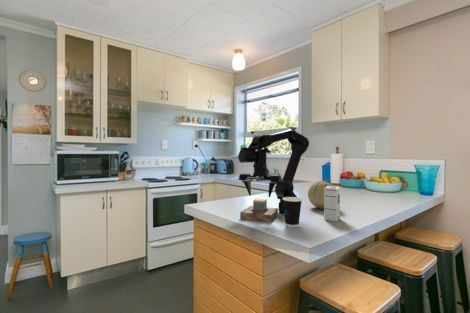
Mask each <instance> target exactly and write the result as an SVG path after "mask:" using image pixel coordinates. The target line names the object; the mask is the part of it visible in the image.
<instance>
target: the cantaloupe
mask: <svg viewBox="0 0 470 313" xmlns="http://www.w3.org/2000/svg"><path fill="white" fill-rule="evenodd" d="M327 186H334V185H333V184H332V183H330V182H327V181H326V180H324V179H322V180H321V181H320V180H319V181H316V182H314V183H312V185H310V187H309V188H308V191H307V198H308V200H309V203H311V205H313V206H314V207H315V208H317V209H320V210H322V209H323V210H324V188H326V187H327Z"/></svg>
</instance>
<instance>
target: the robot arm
mask: <svg viewBox="0 0 470 313" xmlns="http://www.w3.org/2000/svg"><path fill="white" fill-rule="evenodd" d="M286 139H287V141H288V143H289V144H290V150H291V154H290V157H289V160H288V163H287V166H286V168H285V171H284V174H283V177H282V175H280V174H271V175H270V170H269V169H268V164H267V154H268V153H269V154H270V153H271V150H270V149H268V147H269V146H271V145H272V144H273V143H274V144H275V143H277V142H279V141H283V140H286ZM309 146H310V141H309V138H307V137H306V136H304V135H303V134H301V133H299V132H297V130H295V129H286V130H283V131H280V132H279V131H278V132H275V133H271V134H260V135H254V136H253V137H252V140H251V143H250V144H249V145H248V147H246V146H244V147H243V146H242V147H240V151H239V152H238V155H237V157H238V161H239V162H240V163H241V164H242V163H247V164H248V163H249V164H250V163H253V165H252V167H253V173H252V174H251V173H239V176H238V181H241V182H242V183H243V184H244V186H245V188H246V190H247V191H246V192H247V194H248V196H252V186H251V185H252V184H251V183H252V180H262V181H263V180H264V181H269V183H268V198H271V196H272V192H273V189H274V188H275V189H274V193H275V195H276V198H277V200H279V202H278V214H284V203H283V198H285V197H296V198H298V197H297V195H296V194H295V193H294V188H295V187H294V182H293V181H294V179H295V175H296V173H297V169H298V167H299V163H300V161H301V158H302V156H303V154H304V153H306V151H307V150H308V148H309Z"/></svg>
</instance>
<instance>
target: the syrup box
mask: <svg viewBox="0 0 470 313" xmlns="http://www.w3.org/2000/svg"><path fill="white" fill-rule="evenodd" d="M340 190H341V187H339V186H334V185H333V186H327V187H326V188H324V209H323V215H324V216H323V219H324V220H326V221H332V222H338V221H339V220H340V218H341V216H340V215H341V213H340V212H341V198H340V197H341V194H340V192H341V191H340Z"/></svg>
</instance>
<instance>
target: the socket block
mask: <svg viewBox="0 0 470 313" xmlns="http://www.w3.org/2000/svg"><path fill="white" fill-rule="evenodd" d="M239 213H240V214H239V215H240V217H239V219H240V220H248V221H257V222H266V223H272V222H273V221H274V219H276V218H277V217H278V215H279V207H277V208H275V207H268V206H267V212H265V213H263V212H254V211H253V205H249V206H248V207H246V208H244V209H243V210H241V211H240V212H239Z"/></svg>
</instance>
